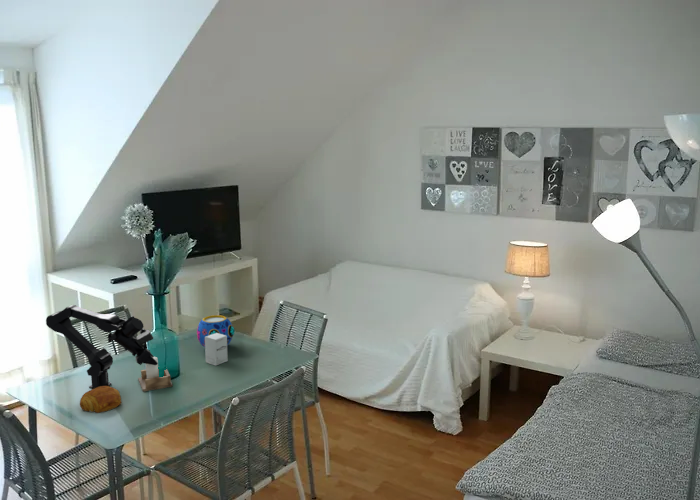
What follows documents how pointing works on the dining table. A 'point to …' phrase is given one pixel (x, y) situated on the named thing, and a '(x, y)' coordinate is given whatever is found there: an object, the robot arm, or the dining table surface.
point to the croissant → (100, 399)
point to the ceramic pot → (214, 328)
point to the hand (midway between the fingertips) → (155, 361)
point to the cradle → (154, 381)
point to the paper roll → (152, 370)
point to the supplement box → (216, 349)
